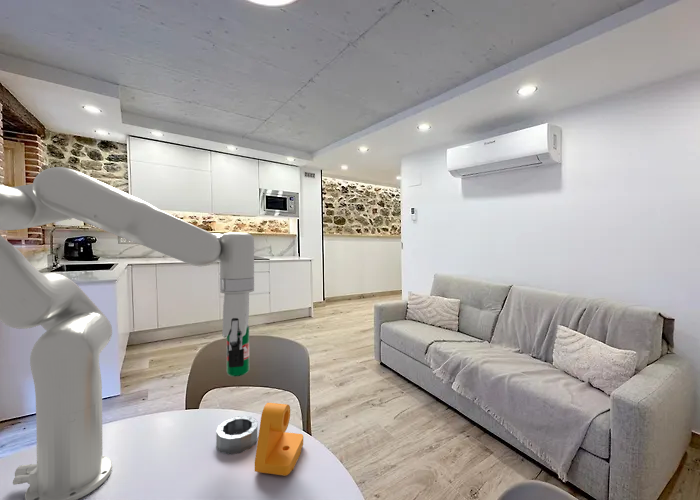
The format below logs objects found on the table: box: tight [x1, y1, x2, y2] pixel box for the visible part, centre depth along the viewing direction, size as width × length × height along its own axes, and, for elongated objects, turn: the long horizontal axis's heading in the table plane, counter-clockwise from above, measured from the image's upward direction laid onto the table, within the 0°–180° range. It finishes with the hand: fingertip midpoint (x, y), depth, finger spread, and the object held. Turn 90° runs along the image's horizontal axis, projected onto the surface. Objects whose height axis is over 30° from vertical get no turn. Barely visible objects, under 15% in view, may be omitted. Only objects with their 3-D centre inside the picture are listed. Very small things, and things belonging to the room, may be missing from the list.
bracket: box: [254, 402, 304, 477], centre depth 68 cm, size 11×7×12 cm, turn 171°
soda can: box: [225, 323, 250, 378], centre depth 74 cm, size 5×5×12 cm
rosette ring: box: [215, 415, 258, 455], centre depth 74 cm, size 9×9×4 cm
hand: (237, 360), depth 74 cm, fingers closed on soda can, 5 cm apart
